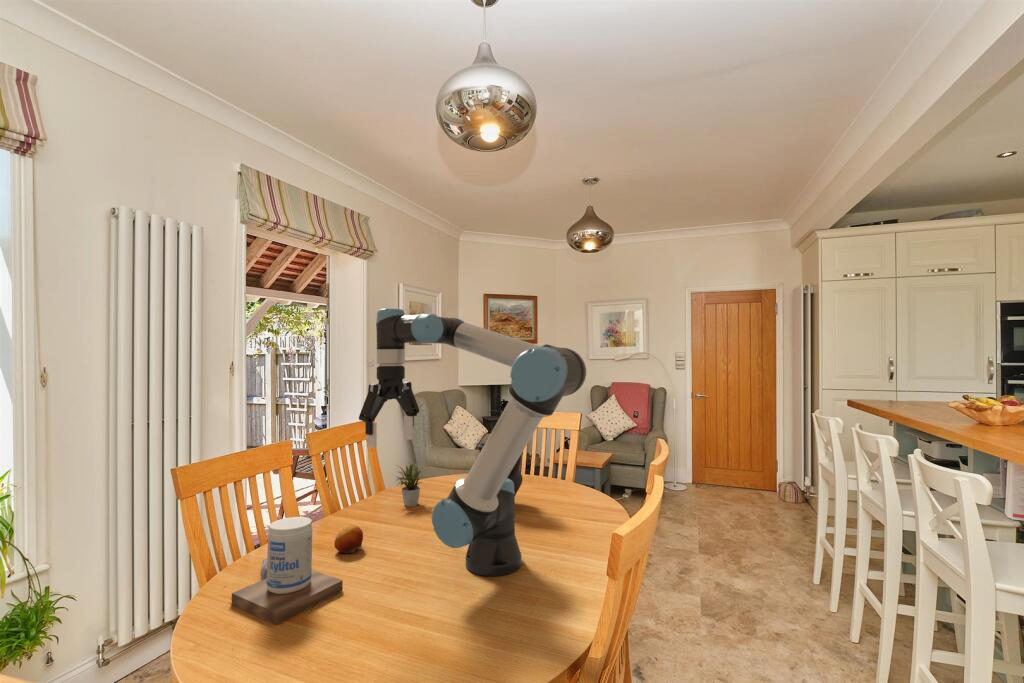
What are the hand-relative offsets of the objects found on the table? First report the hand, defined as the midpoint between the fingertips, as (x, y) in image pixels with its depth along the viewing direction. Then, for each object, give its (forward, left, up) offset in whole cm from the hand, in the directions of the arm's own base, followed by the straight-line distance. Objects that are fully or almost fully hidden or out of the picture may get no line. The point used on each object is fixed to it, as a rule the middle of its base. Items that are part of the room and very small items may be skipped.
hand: (390, 443), depth 130 cm
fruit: (+18, -1, -33) cm, 38 cm away
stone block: (+22, +17, -33) cm, 43 cm away
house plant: (+34, -43, -33) cm, 64 cm away
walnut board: (+8, +25, -33) cm, 42 cm away
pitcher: (+2, -56, -33) cm, 65 cm away
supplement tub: (+8, +25, -30) cm, 40 cm away
